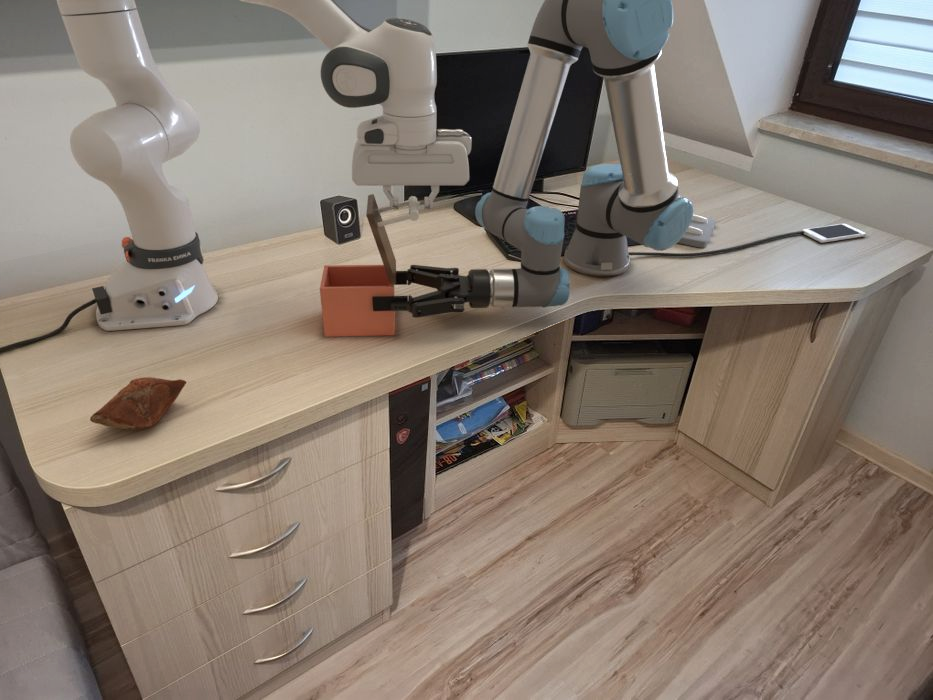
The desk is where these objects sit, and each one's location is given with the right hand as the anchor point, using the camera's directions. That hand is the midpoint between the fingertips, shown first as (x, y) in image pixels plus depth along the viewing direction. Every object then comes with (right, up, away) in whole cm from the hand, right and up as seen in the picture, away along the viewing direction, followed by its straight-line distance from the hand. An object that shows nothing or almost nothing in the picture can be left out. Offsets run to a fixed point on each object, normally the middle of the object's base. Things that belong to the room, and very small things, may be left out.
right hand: (373, 290), depth 122 cm
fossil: (-32, -22, -22) cm, 45 cm away
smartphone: (+116, +20, +49) cm, 127 cm away
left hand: (+8, +14, -8) cm, 18 cm away
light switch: (+75, +20, +48) cm, 91 cm away
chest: (-3, -6, +4) cm, 8 cm away
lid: (+2, +9, -6) cm, 11 cm away
